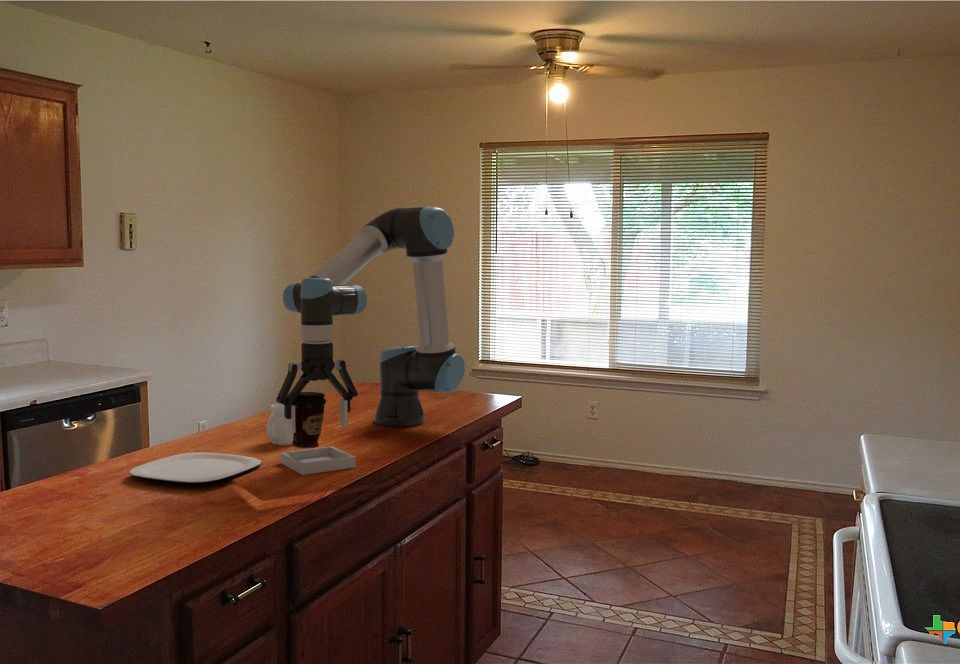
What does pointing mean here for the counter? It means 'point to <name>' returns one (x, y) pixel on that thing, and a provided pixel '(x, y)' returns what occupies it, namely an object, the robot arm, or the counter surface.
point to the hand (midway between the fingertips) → (318, 429)
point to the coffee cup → (308, 419)
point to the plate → (195, 467)
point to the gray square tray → (317, 460)
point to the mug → (278, 426)
